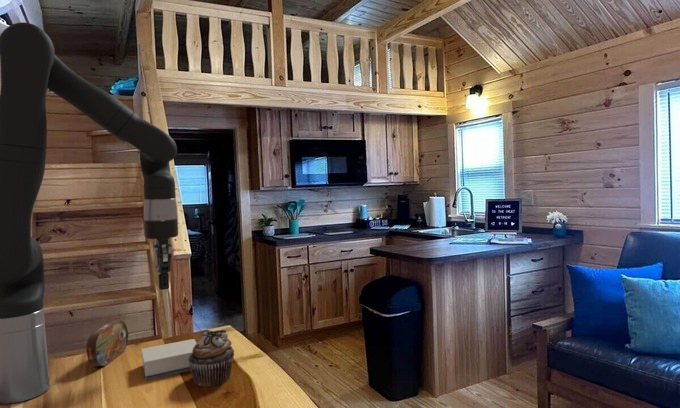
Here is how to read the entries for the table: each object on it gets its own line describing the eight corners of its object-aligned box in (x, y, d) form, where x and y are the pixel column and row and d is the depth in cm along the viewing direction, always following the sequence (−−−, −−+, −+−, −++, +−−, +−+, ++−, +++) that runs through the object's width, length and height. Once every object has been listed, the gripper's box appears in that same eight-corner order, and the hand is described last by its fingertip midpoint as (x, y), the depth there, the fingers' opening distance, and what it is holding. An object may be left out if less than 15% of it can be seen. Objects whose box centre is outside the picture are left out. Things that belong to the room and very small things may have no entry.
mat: (145, 380, 98) (145, 378, 98) (142, 366, 106) (142, 365, 106) (202, 368, 104) (202, 366, 104) (195, 355, 111) (195, 354, 111)
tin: (98, 372, 104) (96, 336, 103) (85, 372, 104) (82, 336, 103) (130, 347, 119) (128, 316, 118) (118, 347, 119) (116, 316, 118)
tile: (142, 363, 107) (145, 377, 99) (141, 348, 107) (144, 362, 99) (195, 352, 112) (201, 365, 104) (194, 338, 112) (201, 350, 104)
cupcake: (193, 370, 103) (191, 327, 102) (237, 367, 104) (235, 324, 103) (184, 390, 93) (181, 342, 93) (232, 385, 94) (230, 338, 94)
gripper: (142, 216, 113) (145, 285, 114) (146, 220, 101) (149, 297, 102) (173, 215, 117) (176, 281, 118) (181, 218, 105) (184, 292, 106)
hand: (164, 288), depth 110 cm, fingers closed
